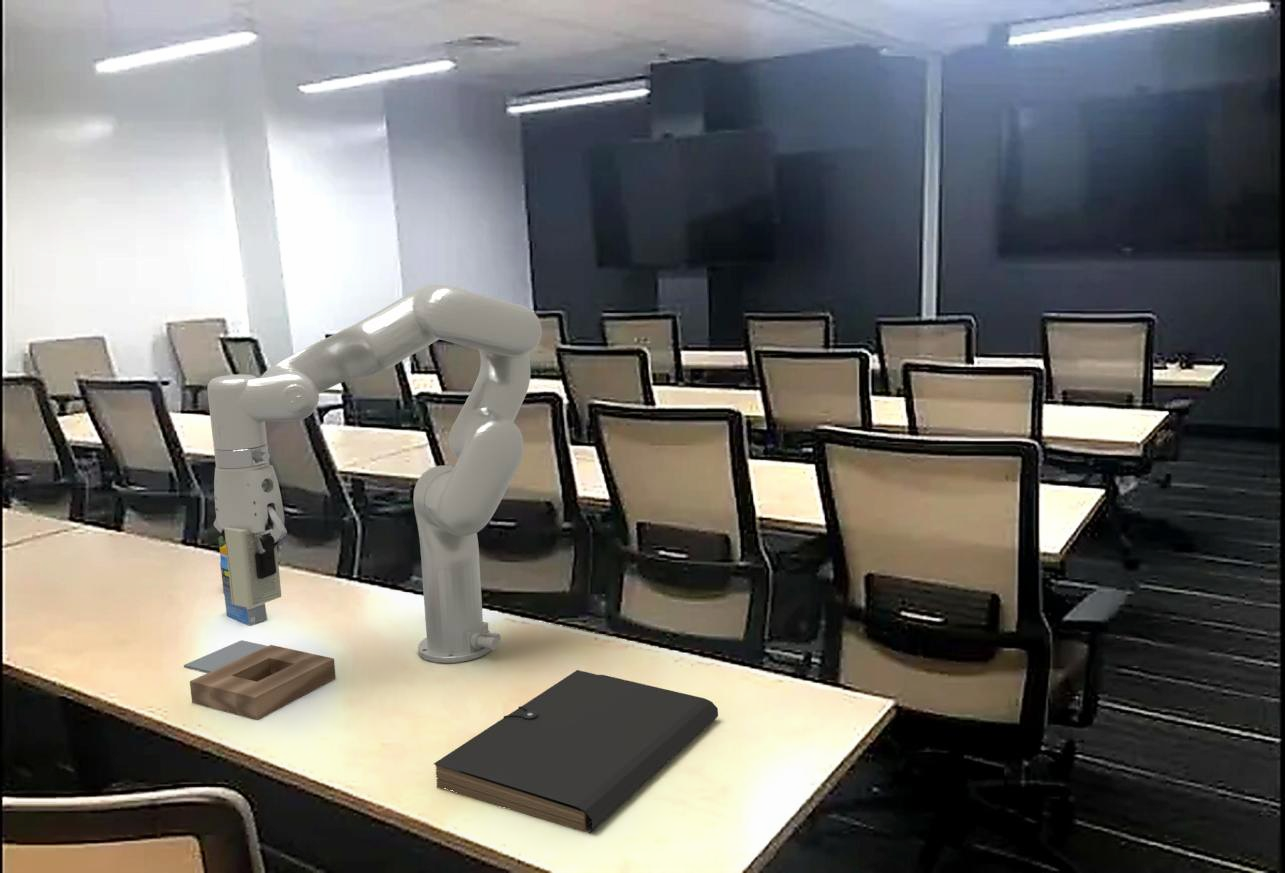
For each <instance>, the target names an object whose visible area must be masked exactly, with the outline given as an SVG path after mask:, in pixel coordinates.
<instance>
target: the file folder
mask: <svg viewBox="0 0 1285 873" xmlns="http://www.w3.org/2000/svg"><path fill="white" fill-rule="evenodd" d="M718 717H719V709H718V706H716V704H714V702H713V701H712V700H709V699H707V698H704V697H699V696H696V695H692V694H689V693H688V694H687V693H683V692H679V691H675V690H670V689H666V688H661V687H657V686H654V685H653V686H652V685H648V684H645V683H640V682H635V681H631V680H627V679H623V678H618V677H614V676H611V675H607V674H595V673H592V672H588V671H583V670H580V669H576V670H575V671H574V672H572V673H570V674H569V675H568V676H565V677H564V678H563V679H561V680H560V681H558V682H557V683H555V684H554V685H552V686H550V687H549V688H547V689H546V690H545V691H543V692H541V693H540V694H538V695H537V696H535V697H533V698H532V699H530V700H528V701H527V702H526V703H524V704H523V705H521V706H518V708H517V709H515V710H513V711H512V712H511V713H508V715H503V718H502V719H500V720H498V721H496V722H495V723H493V724H492V725H491V726H489V727H487V728H486V729H484V730H483V731H481V732H480V733H478V734H477V735H475V736H474V737H472V738H471V739H469V740H467V741H466V742H464V743H463V744H462V745H460V746H459V747H457V748H455V749H453V750H452V751H451V752H450V753H448V754H446V755H444V756H443V757H442V758H440V759H439V760H437V761H435V762H434V763H433V765H435V782H436V784H435V785H436V787H437V788H439V787H440V789H442V788H443V790H445V789H444V788H446V789H448V790H453V791H454V792H453V791H451V792H452V793H455V792H457V793H456V794H458V795H462V796H464V795H465V796H464V797H468V798H471V799H474V800H478V801H481V802H484V803H487V804H490V805H493V806H497V807H499V806H501V807H500V808H503V807H505V808H504V809H507V810H512V809H513V810H512V811H517V812H519V813H523V814H526V815H529V816H532V817H536V818H538V819H542V820H545V821H546V820H547V821H549V822H553V823H556V824H559V825H562V826H566V827H568V826H569V828H571V827H572V828H571V829H572V830H574V831H576V830H577V831H578V832H586V831H587V827H588V826H589V825H590V824H591V826H592V829H591V830H590V831H589V832H588V834H590V833H592V831H594V829H595V828H597V827H598V826H599V825H600V824H601V823H602V822H603V821H605V819H607V818H608V817H609V816H610V815H611V814H612V813H614V811H616V810H617V809H618V808H620V806H621V805H623V804H624V803H625V802H626V801H627V800H628V799H630V797H631V796H632V795H634V793H636V792H637V791H638V790H639V789H640V788H641V787H642V786H643V785H645V783H647V781H649V780H650V779H651V778H652V777H653V776H654V775H655V774H657V772H658V771H660V770H661V769H662V768H663V767H665V765H667V764H668V763H669V762H670V761H671V760H672V759H673V758H674V757H676V755H678V754H679V753H680V752H681V751H682V750H683V749H684V748H685V747H686V746H688V745H689V743H691V742H692V741H693V740H694V739H696V737H698V736H699V735H700V734H701V733H702V732H703V731H704V730H705V729H707V728H708V726H710V725H711V724H712V723H713V722H714V721H715V720H716V719H717V718H718ZM448 790H447V791H448ZM508 808H510V809H508Z"/></svg>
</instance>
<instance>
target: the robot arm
mask: <svg viewBox="0 0 1285 873" xmlns="http://www.w3.org/2000/svg"><path fill="white" fill-rule="evenodd" d="M542 335H543V327H542V324H541V321H540V319H539V317H538V315H537V314H536V313H535V312H534V311H533V310H532V309H530V308H529V307H527V306H525V305H522V304H518V303H514V302H511V301H506V300H504V299H503V300H502V299H499V298H495V297H491V296H487V295H483V294H480V293H476V292H473V291H469V290H466V289H462V288H459V287H456V286H451V285H445V284H444V285H443V284H427V285H426V286H425V285H424V286H422V287H420V288H418V289H416V290H414V291H412V292H410V293H409V294H406V295H405V296H403V297H401V298H399V299H398V300H396V301H394V302H393V303H391V304H389V305H387V306H386V307H384V308H382V309H381V310H379V311H376V312H375V313H374V314H371V315H370V316H367V317H365V318H364V319H362V320H360V321H359V322H357V323H355V324H353V325H351V326H348V327H346V328H344V329H341V330H340V331H338V332H336V333H334V334H332V335H330V336H328V337H326V338H324V339H321V340H320V341H316V342H315V343H313V344H311V345H309V346H306V347H305V348H303V349H301V350H299V351H298V352H296V353H294V354H292V355H290V356H289V357H287V358H285V359H283V360H281V361H279V362H278V363H276V364H275V365H273V366H271V367H270V368H268V369H267V370H266V371H265V372H263V374H262V375H261V376H260V377H257V376H255V375H253V374H244V373H243V374H229V375H228V374H227V375H220V376H216V377H214V378H212V379H211V380H209V382H208V384H207V388H206V389H207V398H208V399H207V400H208V408H209V416H210V425H211V433H212V434H211V436H212V441H213V452H214V453H213V454H214V461H215V468H214V480H213V484H214V485H213V486H214V487H213V489H214V491H213V494H214V495H213V496H214V509H215V510H214V511H215V519H214V522H213V526H214V528H215V529H216V530H217V531H218V532H219V534H221V536H222V537H223V540H225V530H224V528H227V527H228V528H238V529H245V530H248V532H249V533H251V534H253V536H254V540H255V543H256V547H257V550H258V553H256V554H255V560H256V570H257V577H258V578H259V579H263V578H266V577H268V576H271V575H273V574H275V573H276V565H275V555H274V549H276V548H277V549H278V544H279V543H280V541H281V540H282V539H283V538H284V537H285V536H286V535H287V534H288V531H287V529H286V527H285V514H284V513H285V512H284V506H283V500H282V495H281V494H282V493H281V489H280V485H279V481H278V477H277V473H276V471H275V469H274V465H273V464H270V458H271V454H269V447H268V440H267V439H268V438H267V428H266V422H285V423H286V422H288V423H290V422H298V421H303V420H304V419H307V418H308V417H309V416H311V415H312V414H313V413H314V412H315V411H316V409H317V407H318V406H319V403H320V402H319V401H320V394H321V393H323V392H325V391H327V390H329V389H330V388H332V387H335V386H336V385H337V386H338V385H339V384H343V383H345V382H347V381H349V380H353V379H358V378H364V377H369V376H374V375H378V374H380V373H383V372H386V371H387V370H389V369H391V368H393V367H394V366H396V365H398V364H399V363H401V362H402V361H404V360H406V359H408V358H409V357H411V356H413V355H415V354H416V353H418V352H420V351H421V350H423V349H425V348H427V347H428V346H431V344H432V345H433V344H434V343H435V342H437V341H439V340H441V341H445V342H448V343H452V344H456V345H459V346H462V347H467V348H470V349H474V350H478V352H479V358H480V366H479V367H480V368H479V371H478V372H479V373H478V374H477V378H476V381H475V383H474V385H473V388H472V389H471V390H470V393H469V395H468V397H467V398H466V401H465V403H464V404H463V406H462V408H461V410H460V412H459V413H458V414H457V418H456V419H455V421H454V423H453V424H452V427H451V429H450V432H449V435H448V446H449V448H450V451H451V453H452V454H453V455H454V456H455V457H456V458H457V461H456V464H454V466H451V465H436V466H433V467H431V468H429V469H427V470H426V471H425V472H423V473H422V474H421V476H420V477H419V478H418V479H417V482H416V484H415V486H414V490H413V509H414V515H415V520H416V524H417V530H418V537H419V545H420V557H421V560H420V562H421V577H422V589H423V592H422V593H423V603H424V605H423V606H424V619H425V632H426V633H425V635H426V637H425V638H423V639H422V640H421V641H420V642H419V643H418V646H417V651H418V654H419V656H420V657H421V658H422V659H424V660H427V661H430V662H432V663H433V662H434V663H443V664H446V663H447V664H451V663H460V662H461V663H462V662H467V661H471V660H475V659H478V658H481V657H482V656H484V655H487V654H488V653H489V652H490V651H492V650H493V651H495V650H497V649H498V647H499V642H500V641H501V637H502V636H501V634H500V633H496V632H490V630H489V622H486V621H484V620H483V618H484V617H483V604H482V603H483V601H482V600H483V599H482V587H481V586H482V585H481V584H482V583H481V570H480V569H481V568H480V567H481V566H480V550H479V549H480V548H479V540H478V534H477V533H479V532H481V531H482V530H483V529H484V527H486V526H487V525H488V523H489V522H490V521H491V519H492V517H493V516H494V514H495V513H496V511H497V509H498V507H499V505H500V503H501V502H502V499H503V497H504V496H505V493H506V492H507V489H508V488H509V486H510V484H511V483H512V481H513V478H514V477H515V474H516V472H517V470H518V469H519V466H520V463H521V461H522V457H523V453H524V439H523V438H524V437H523V435H522V432H521V430H520V429H519V427H518V425H517V424H516V423H515V420H516V418H517V416H518V414H519V411H520V409H521V406H522V404H523V402H524V400H525V397H526V396H527V393H528V390H529V387H530V382H531V362H530V354H531V353H532V352H534V351H535V350H536V349H537V347H538V346H539V345H540V342H541V340H542ZM263 535H266V539H265V541H264V542H263V538H262V536H263Z"/></svg>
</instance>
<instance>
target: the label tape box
mask: <svg viewBox="0 0 1285 873" xmlns="http://www.w3.org/2000/svg"><path fill="white" fill-rule="evenodd" d="M227 563H228V560H227V556H225V555H222V554H221V558H220V562H219V564H220V565H219V566H220V572H221V579H222V590H223V589H224V593H223V595H224V604H225V610H226V616H227V617H229V618H231V619H233V618H234V619H233V620H236V621H239V622H241V623H243V624H245V625H248V626H253V625H257V624H260V623H263V622H265V621H267V620H268V615H267V610H266V603H263V604H260V605H257V606H254V607H251V608H246V607H242V606H238V605H234V604H232V600H231V590H230V580H229V570H228V565H227Z"/></svg>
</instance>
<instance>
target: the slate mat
mask: <svg viewBox="0 0 1285 873" xmlns="http://www.w3.org/2000/svg"><path fill="white" fill-rule="evenodd" d="M267 646H268V645H266V644H262V643H261V644H260V643H256V642H252V641H247V640H238V641H236V642H234V643H232V644H230V645H228V646H227V645H226V646H224V647H222V648H221V649H218V650H215V651H213V652H211V653H208V654H206V655H204V656H202V657H199V658H197V659H195V660H192V661H190V662H188V663H185V664H183V668H185V669H189V668H190V669H189V670H193V669H194V671H197V670H198V671H199V672H201V673H202V672H203V673H205V674H207V673H209V672H211V671H214V670H216V669H218V668H220V667H222V666H225V665H227V664H229V663H231V662H234V661H236V660H238V659H240V658H243V657H245V656H247V655H249V654H252V653H254V652H256V651H258V650H260V649H263V648H265V647H267ZM198 671H197V672H198Z"/></svg>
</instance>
